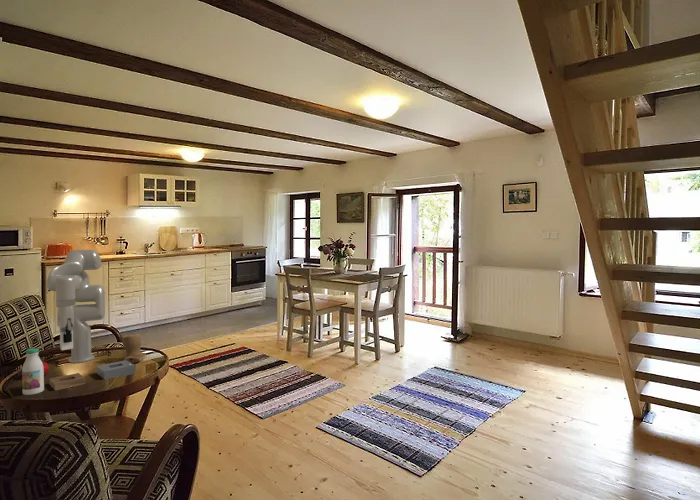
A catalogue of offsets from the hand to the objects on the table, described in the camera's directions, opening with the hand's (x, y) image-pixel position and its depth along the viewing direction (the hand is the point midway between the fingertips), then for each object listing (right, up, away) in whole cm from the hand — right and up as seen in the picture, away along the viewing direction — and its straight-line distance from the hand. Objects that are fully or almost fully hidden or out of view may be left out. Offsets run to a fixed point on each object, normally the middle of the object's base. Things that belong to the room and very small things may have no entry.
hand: (66, 341), depth 194 cm
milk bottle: (-9, -22, -9) cm, 25 cm away
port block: (+14, -21, +16) cm, 30 cm away
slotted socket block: (0, -21, +1) cm, 21 cm away
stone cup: (+10, -20, +40) cm, 46 cm away
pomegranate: (-24, -21, +13) cm, 34 cm away
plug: (0, -4, 0) cm, 4 cm away
